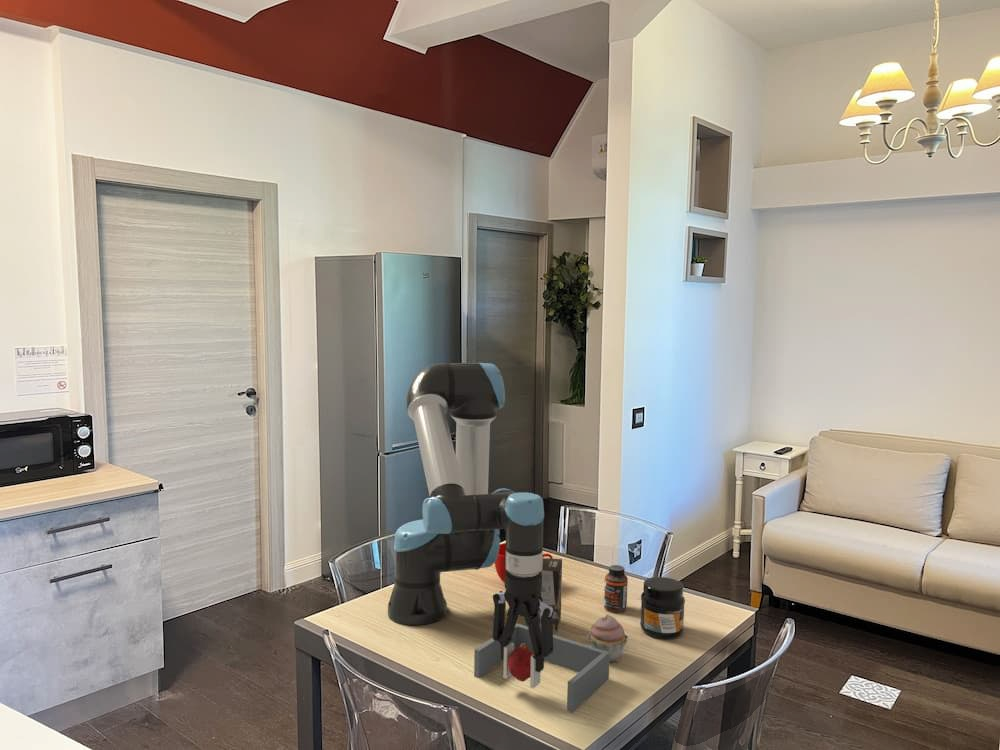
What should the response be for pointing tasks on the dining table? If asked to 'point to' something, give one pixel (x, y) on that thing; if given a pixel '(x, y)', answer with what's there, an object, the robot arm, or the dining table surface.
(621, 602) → the supplement bottle
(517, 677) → the onion
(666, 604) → the supplement container
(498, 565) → the ceramic cup
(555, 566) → the coffee box
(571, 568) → the dining table surface
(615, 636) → the cupcake
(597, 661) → the open u-shaped frame
